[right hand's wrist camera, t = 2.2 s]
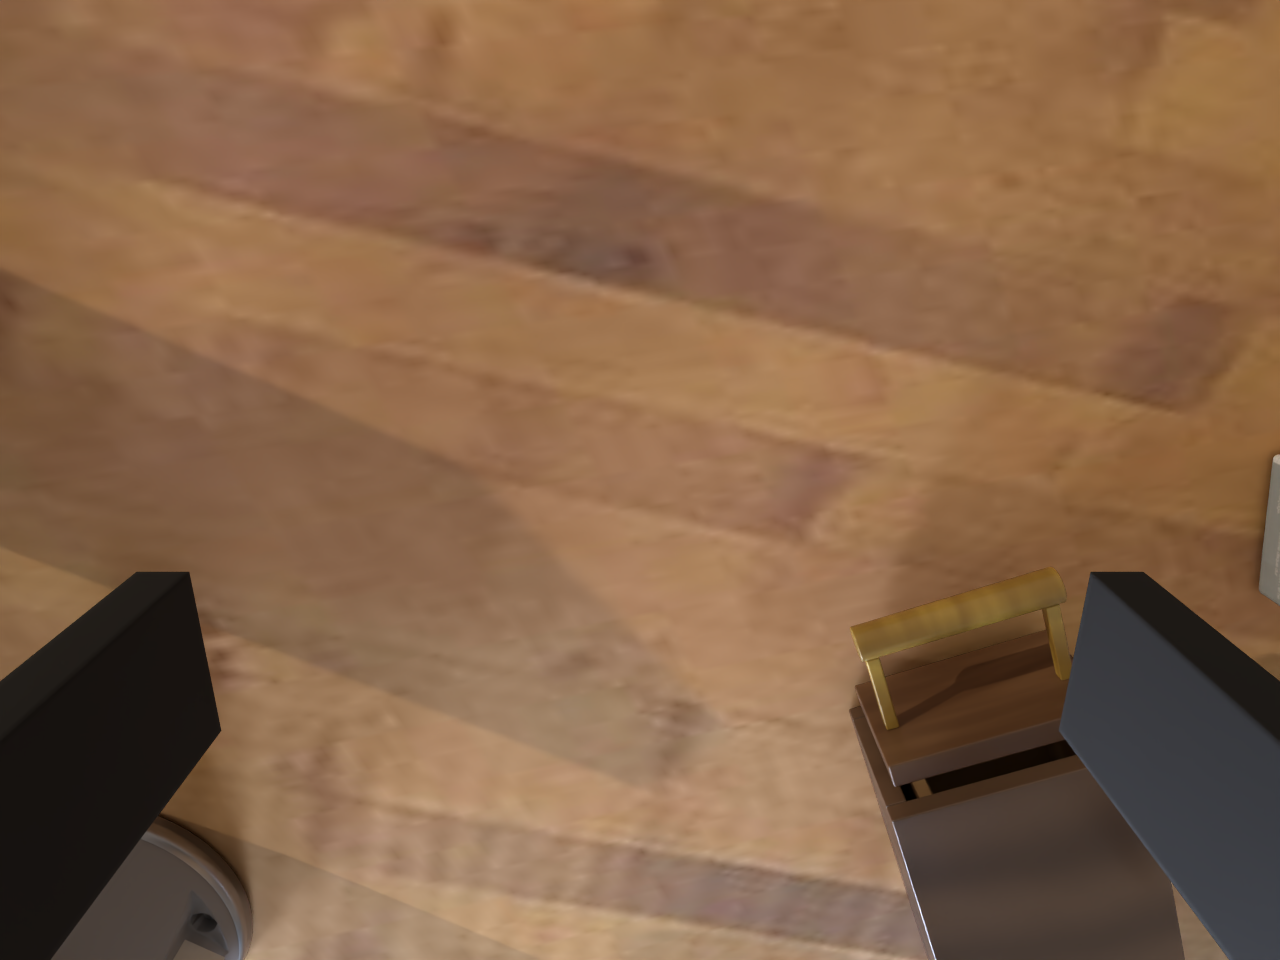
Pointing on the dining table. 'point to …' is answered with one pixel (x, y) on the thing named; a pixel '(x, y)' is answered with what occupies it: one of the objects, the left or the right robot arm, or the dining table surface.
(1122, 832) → the cabinet
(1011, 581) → the drawer
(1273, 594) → the hard drive box
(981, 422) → the dining table surface
